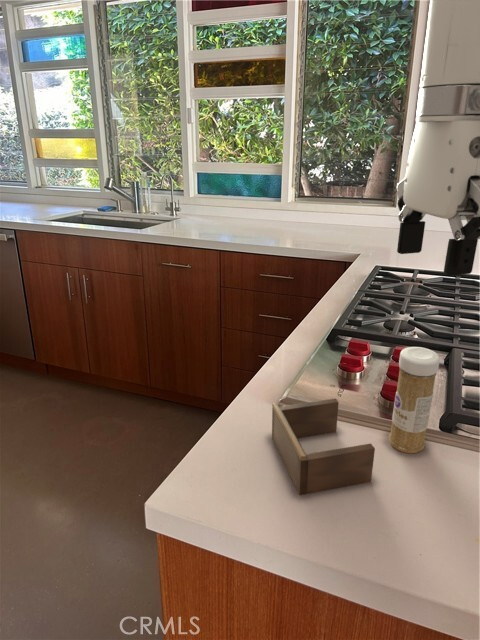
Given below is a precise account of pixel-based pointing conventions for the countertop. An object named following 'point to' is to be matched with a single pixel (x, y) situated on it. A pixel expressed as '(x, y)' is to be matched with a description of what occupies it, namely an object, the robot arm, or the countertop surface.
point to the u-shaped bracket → (320, 466)
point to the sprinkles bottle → (413, 398)
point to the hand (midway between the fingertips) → (431, 262)
